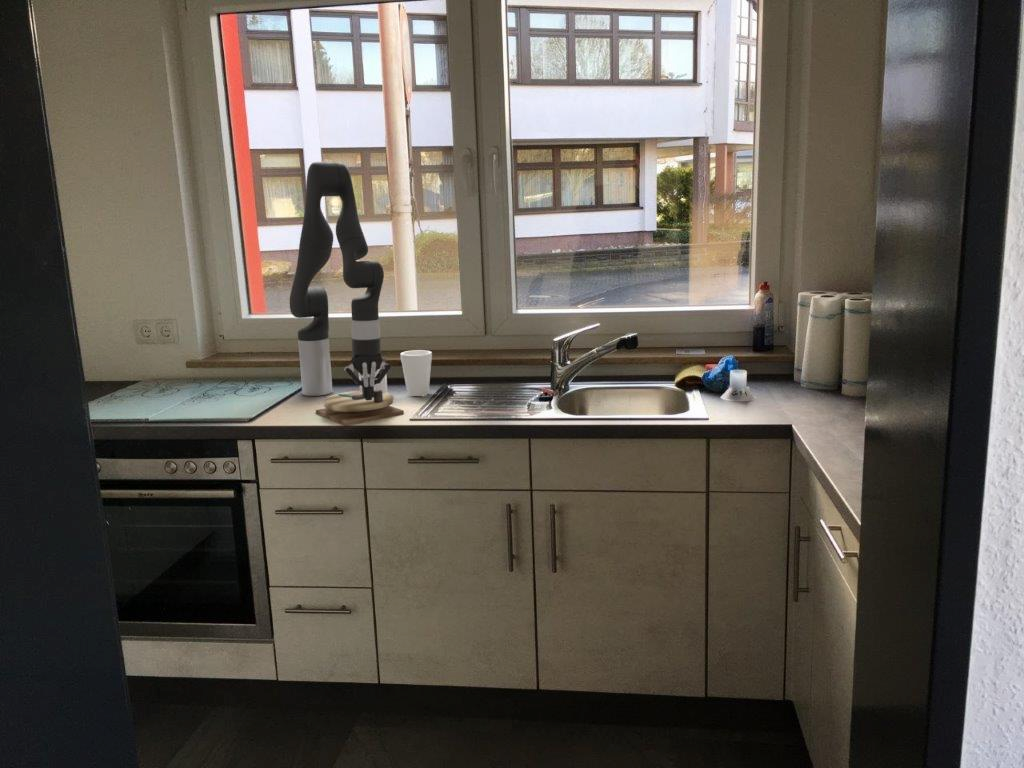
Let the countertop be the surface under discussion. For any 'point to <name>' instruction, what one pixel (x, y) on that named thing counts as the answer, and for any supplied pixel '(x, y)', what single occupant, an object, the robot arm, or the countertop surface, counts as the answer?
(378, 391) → the handwheel
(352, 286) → the robot arm
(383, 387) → the jar
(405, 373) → the foam cup
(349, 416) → the mount
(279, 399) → the countertop surface
